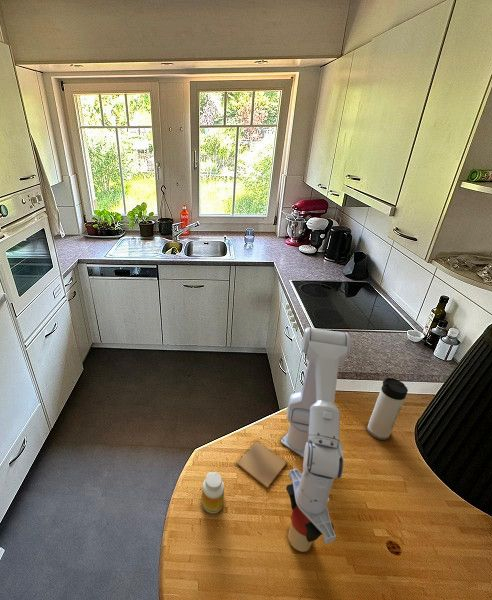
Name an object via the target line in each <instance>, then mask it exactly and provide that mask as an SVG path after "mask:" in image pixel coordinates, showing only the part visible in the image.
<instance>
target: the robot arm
mask: <svg viewBox="0 0 492 600" xmlns="http://www.w3.org/2000/svg"><path fill="white" fill-rule="evenodd" d="M301 342H302V343H301V349H302V350H301V351H302V352H303V354H305V355H306V356H305V359H306V360H307V364H306V369H305V374H304V378H303V384H302V388H301V391H297V392H294V393H291V394H290V396H289V400H288V401H287V407H286V420H287V421H288V422H289V425H288V429H287V433H286V434H285V435H284V436H283V437H282V439H281V440H280V443H281V444H283V445H284V446H285V447H287V448H288V449H290V450H291V451H292V452H294V453H295V454H297V455H298V456H300V457H302V458H303V462H302V473H301V472H300V470H299V469H298V468H293V469H289V471H288V479H290V480H291V483H290V484H287V485H286V487H285V490H286V492H287V494H288V496H289V500H290V501H289V502H290V507H291V511H293V509H294V508H295V507H296V506H298V508H299V509H300V510H301V511H302V512H303V514H304V515H305V516H306V517H307V518H308V519H309V520H310V521H311V522H310V523H306V524H305V527H306V528H307V535H306V539H307V541H308V542H311V541H312V542H315V541H317V539H318V538H320V536H323V537H322V540H323V542H324V544H325V545H327V544H331V543H334V542H335V540H336V538H337V535H336V532H335V530H334V529H335V526H334V524H333V521H331V517H330V513H329V509H328V505H327V504H328V503H329V502H330V498H329V497H330V495H331V491H332V488H333V485H334V482H335V479H338V480H341V479H342V476H343V472H344V463H345V460H344V450H343V442H342V441H341V436H340V435H341V411H340V409H339V408H338V407H337V405H336V404H335V401H336V391H337V383H338V373H339V367H341V366H343V365H344V364H345V362H346V359H348V357H349V356H350V353H351V347H352V339H351V336H350V334H349V333H348V332H346V331H344V332H343V331H334V330H328V329H322V328H321V329H319V328H313V327H310V326H307V327H306V328H304V331H303V336H302V340H301Z"/></svg>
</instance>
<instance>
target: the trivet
mask: <svg viewBox="0 0 492 600" xmlns="http://www.w3.org/2000/svg"><path fill="white" fill-rule="evenodd" d="M236 465H237V466H239V467H240V468H241V469H242V470H243V471H244V472H246V473H247V474H248V475H249V476H251V477H252V478H253V479H255V480H256V481H257V482H259V483H260V484H261V485H262V486H264V488H266V489H268V488H269V487H270V486H271V485H272V483H273V482H274V480H275V479H276V478H277V476H279V474H280V473H281V472H282V470H283V469H284V467H286V465H287V461H285V460H284V459H282V457H280V456H278V455H277V454H275V453H274V452H273V451H272V450H270V449H269V448H267V447H266V446H264V445H263V444H262V443H260V442H259V441H256V442H255V443H254V445H253V446H252V447H251V448H250V449H249V450H248V451H247V452H246V453H245V454H244V455H243V456H242V457H241V458H240V460H239V461H238V462H237V463H236Z"/></svg>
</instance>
